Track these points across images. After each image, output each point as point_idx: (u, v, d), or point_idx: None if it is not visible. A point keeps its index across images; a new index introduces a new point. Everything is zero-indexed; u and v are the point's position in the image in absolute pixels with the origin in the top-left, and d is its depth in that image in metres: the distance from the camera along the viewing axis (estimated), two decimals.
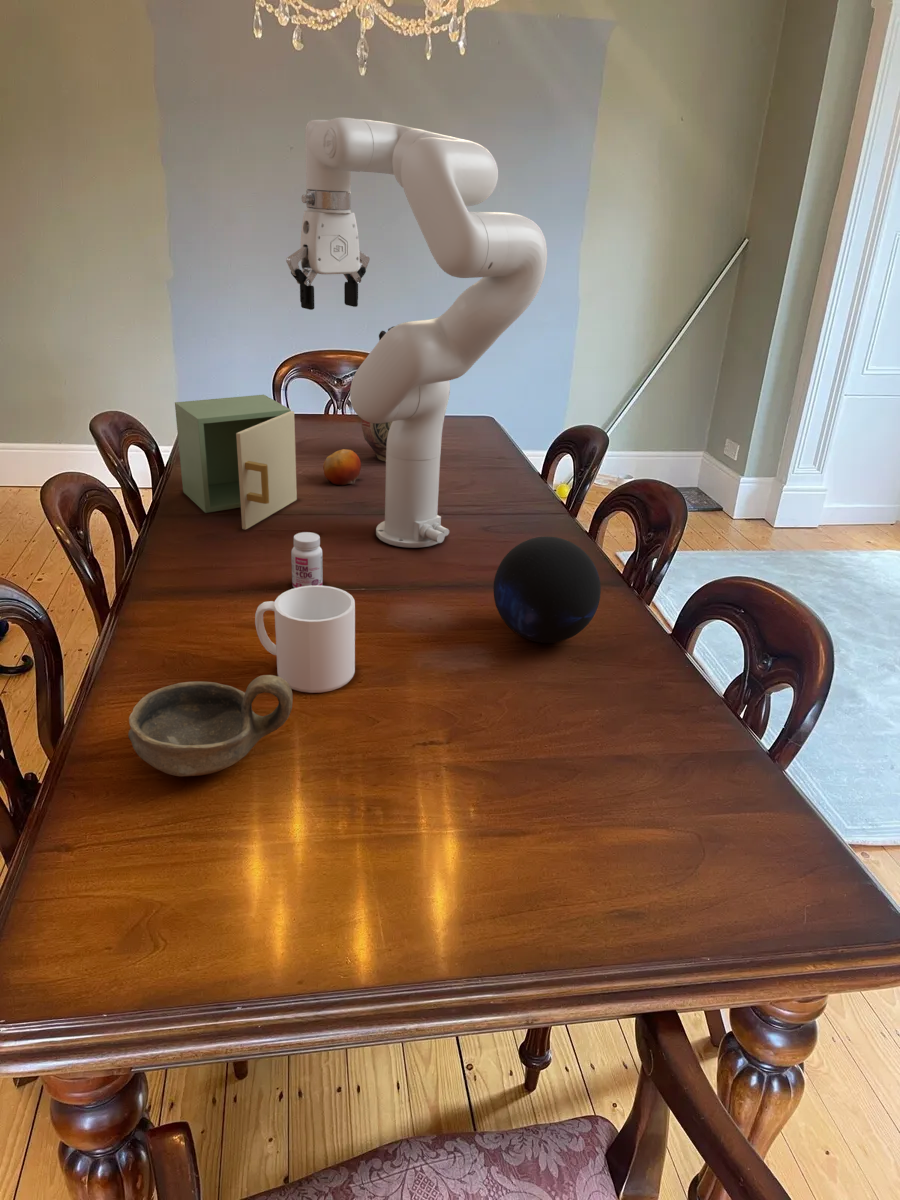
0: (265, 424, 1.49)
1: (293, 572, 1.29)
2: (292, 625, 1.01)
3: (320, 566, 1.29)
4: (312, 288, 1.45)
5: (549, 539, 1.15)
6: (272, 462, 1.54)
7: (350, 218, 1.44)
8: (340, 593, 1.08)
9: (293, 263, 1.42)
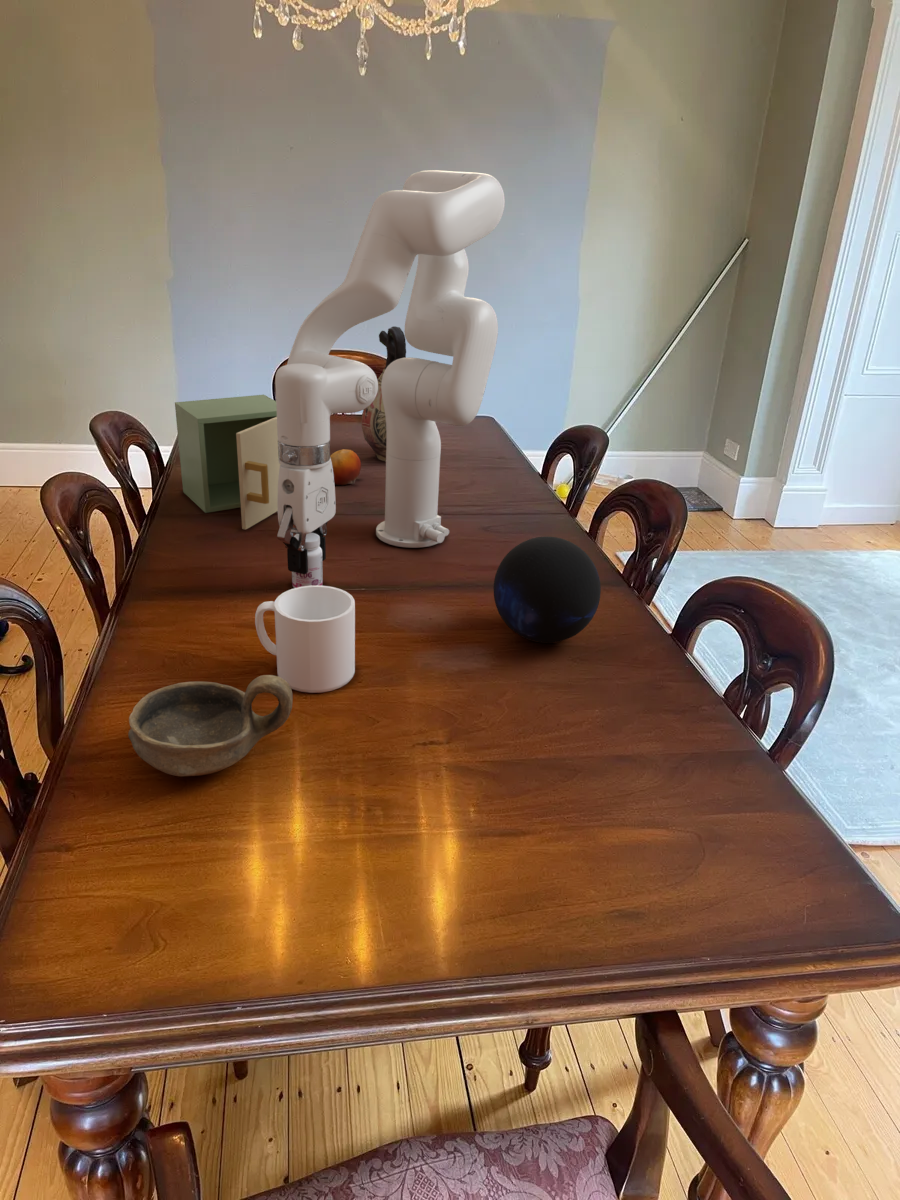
0: (265, 424, 1.49)
1: (293, 572, 1.29)
2: (292, 625, 1.01)
3: (320, 566, 1.29)
4: (306, 552, 1.26)
5: (549, 539, 1.15)
6: (272, 462, 1.54)
7: (329, 464, 1.24)
8: (340, 593, 1.08)
9: (287, 538, 1.21)
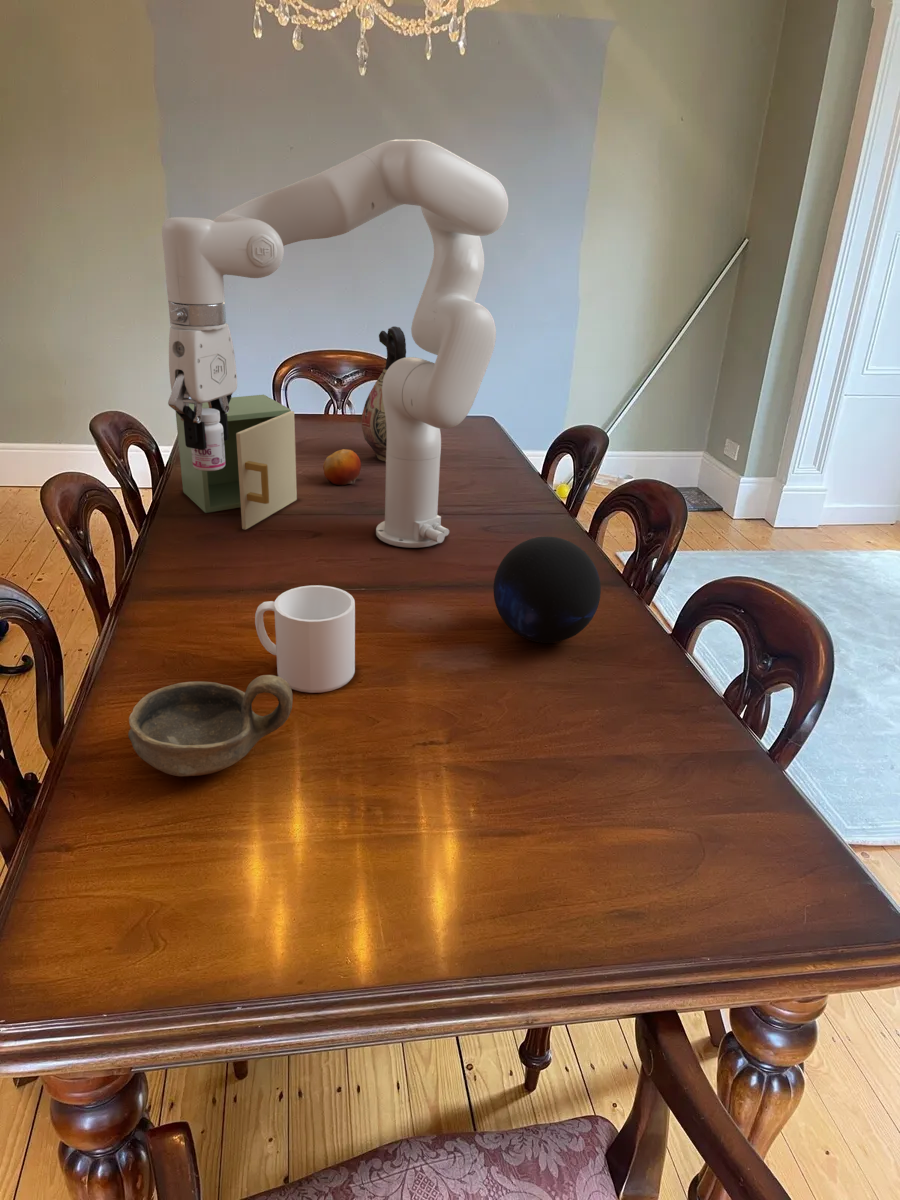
0: (265, 424, 1.49)
1: (192, 450, 1.23)
2: (292, 625, 1.01)
3: (221, 443, 1.23)
4: (203, 425, 1.19)
5: (549, 539, 1.15)
6: (272, 462, 1.54)
7: (226, 331, 1.18)
8: (340, 593, 1.08)
9: (179, 405, 1.15)
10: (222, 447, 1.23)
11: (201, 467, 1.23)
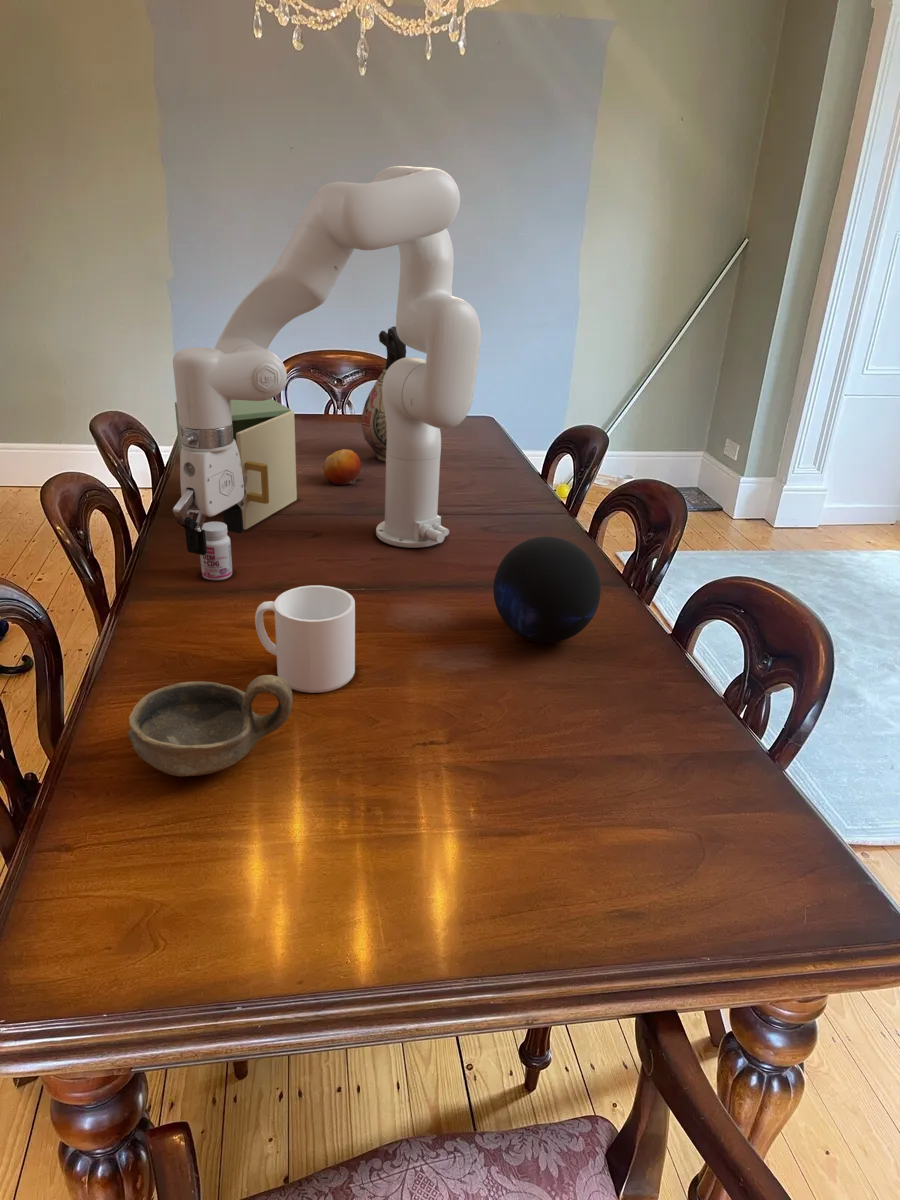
0: (265, 424, 1.49)
1: (201, 561, 1.31)
2: (292, 625, 1.01)
3: (228, 555, 1.31)
4: (204, 533, 1.25)
5: (549, 539, 1.15)
6: (272, 462, 1.54)
7: (233, 447, 1.26)
8: (340, 593, 1.08)
9: (182, 513, 1.21)
10: (229, 558, 1.32)
11: (210, 577, 1.31)
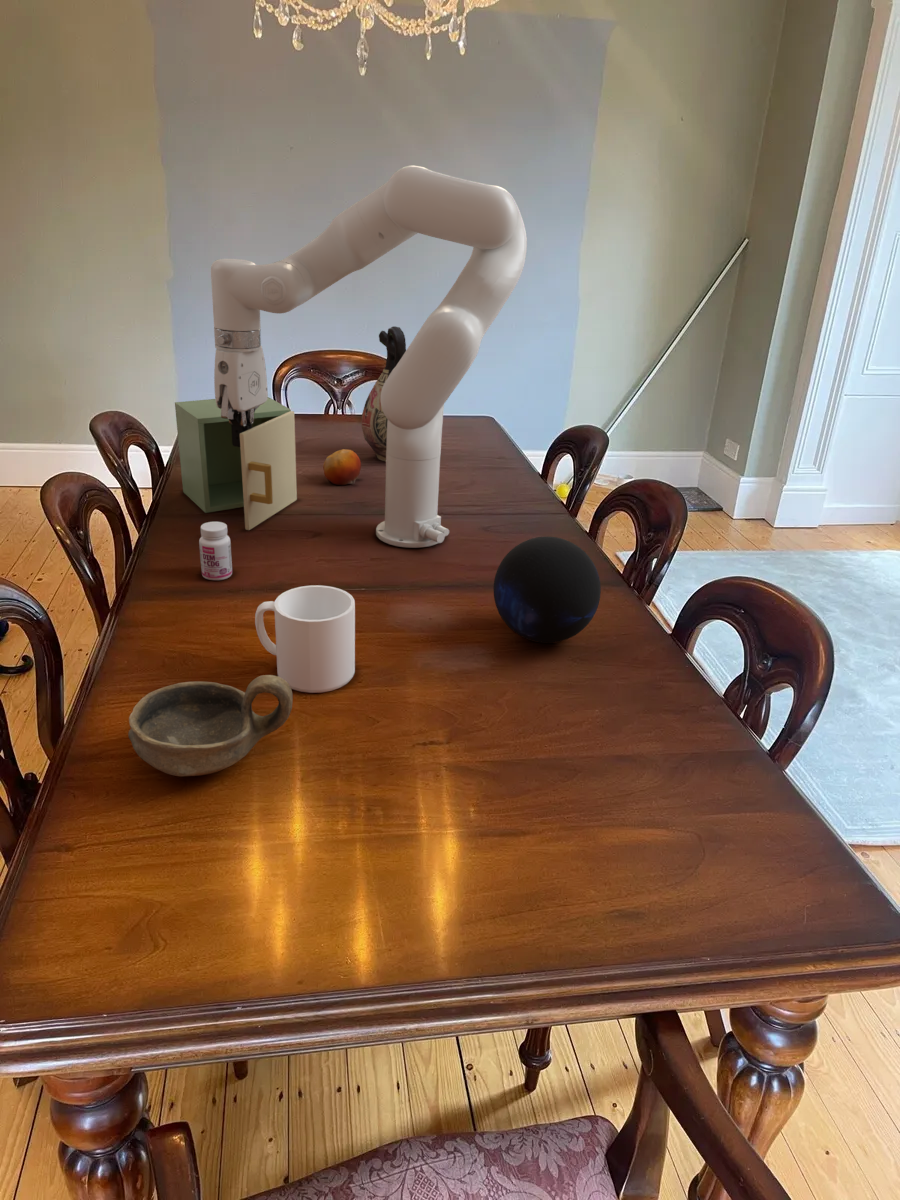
0: (267, 424, 1.49)
1: (201, 561, 1.31)
2: (292, 625, 1.01)
3: (228, 555, 1.31)
4: (248, 428, 1.45)
5: (549, 539, 1.15)
6: (273, 462, 1.54)
7: (260, 352, 1.42)
8: (340, 593, 1.08)
9: (230, 416, 1.40)
10: (229, 558, 1.32)
11: (210, 577, 1.31)
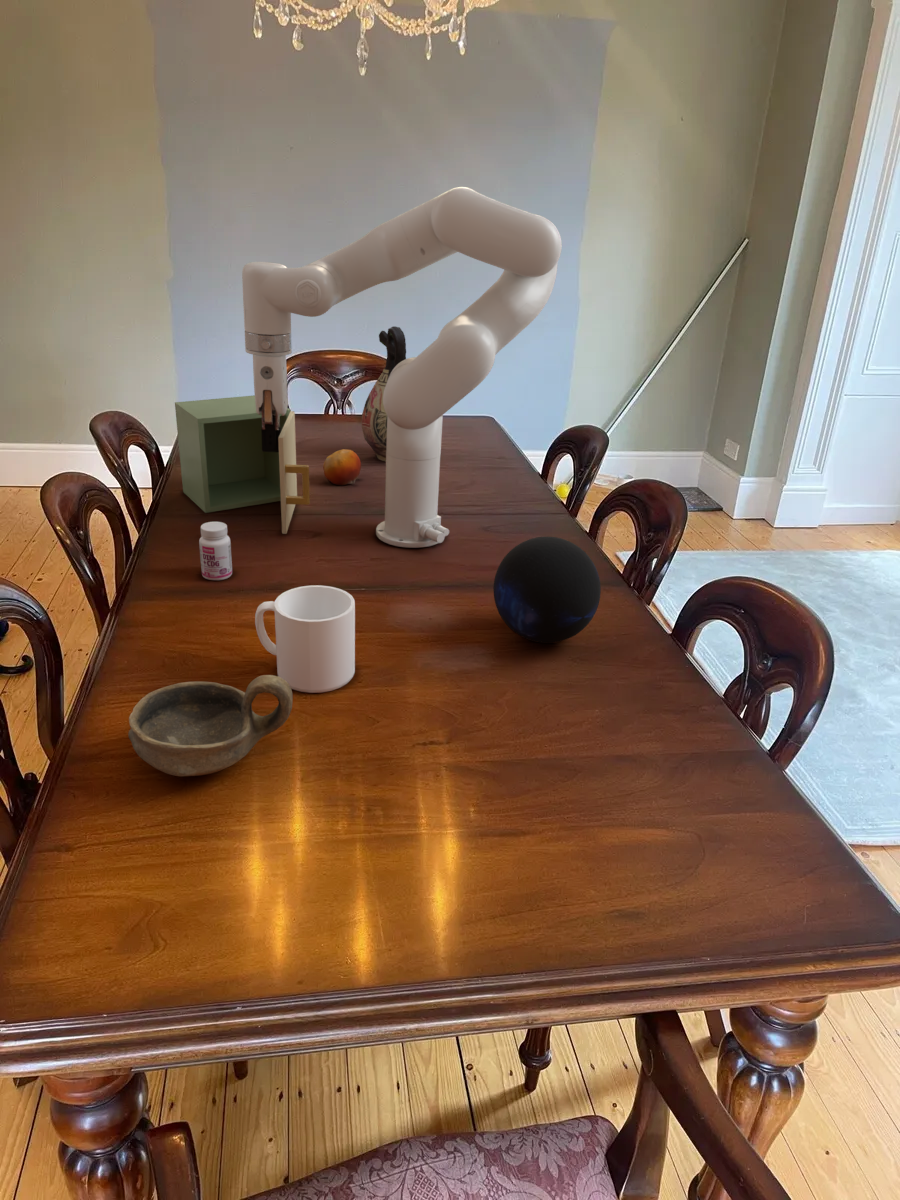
0: (288, 426, 1.49)
1: (201, 561, 1.31)
2: (292, 625, 1.01)
3: (228, 555, 1.31)
4: (280, 431, 1.44)
5: (549, 539, 1.15)
6: (290, 464, 1.54)
7: None
8: (340, 593, 1.08)
9: (272, 421, 1.39)
10: (229, 558, 1.32)
11: (210, 577, 1.31)
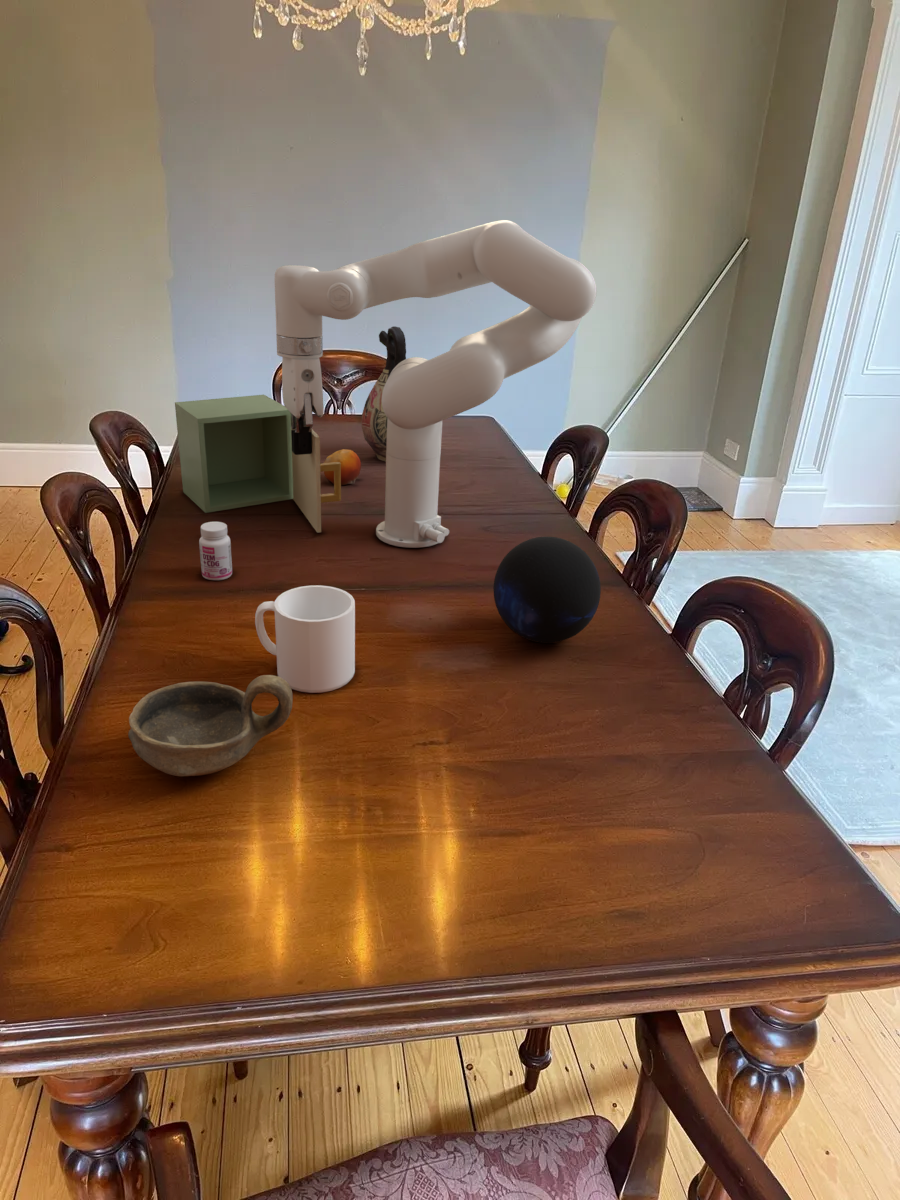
0: None
1: (201, 561, 1.31)
2: (292, 625, 1.01)
3: (228, 555, 1.31)
4: None
5: (549, 539, 1.15)
6: None
7: None
8: (340, 593, 1.08)
9: None
10: (229, 558, 1.32)
11: (210, 577, 1.31)
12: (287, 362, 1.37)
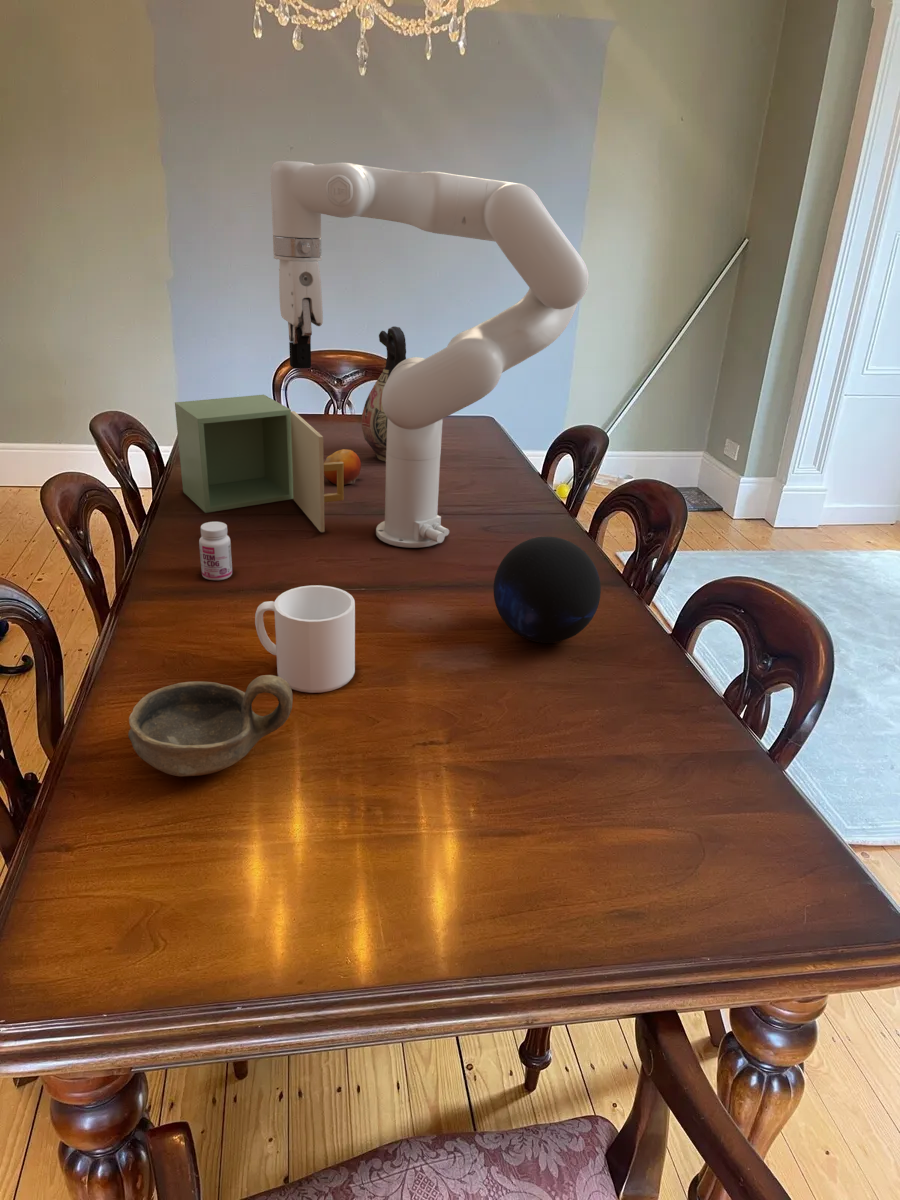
0: None
1: (201, 561, 1.31)
2: (292, 625, 1.01)
3: (228, 555, 1.31)
4: None
5: (549, 539, 1.15)
6: None
7: None
8: (340, 593, 1.08)
9: None
10: (229, 558, 1.32)
11: (210, 577, 1.31)
12: (284, 266, 1.31)
